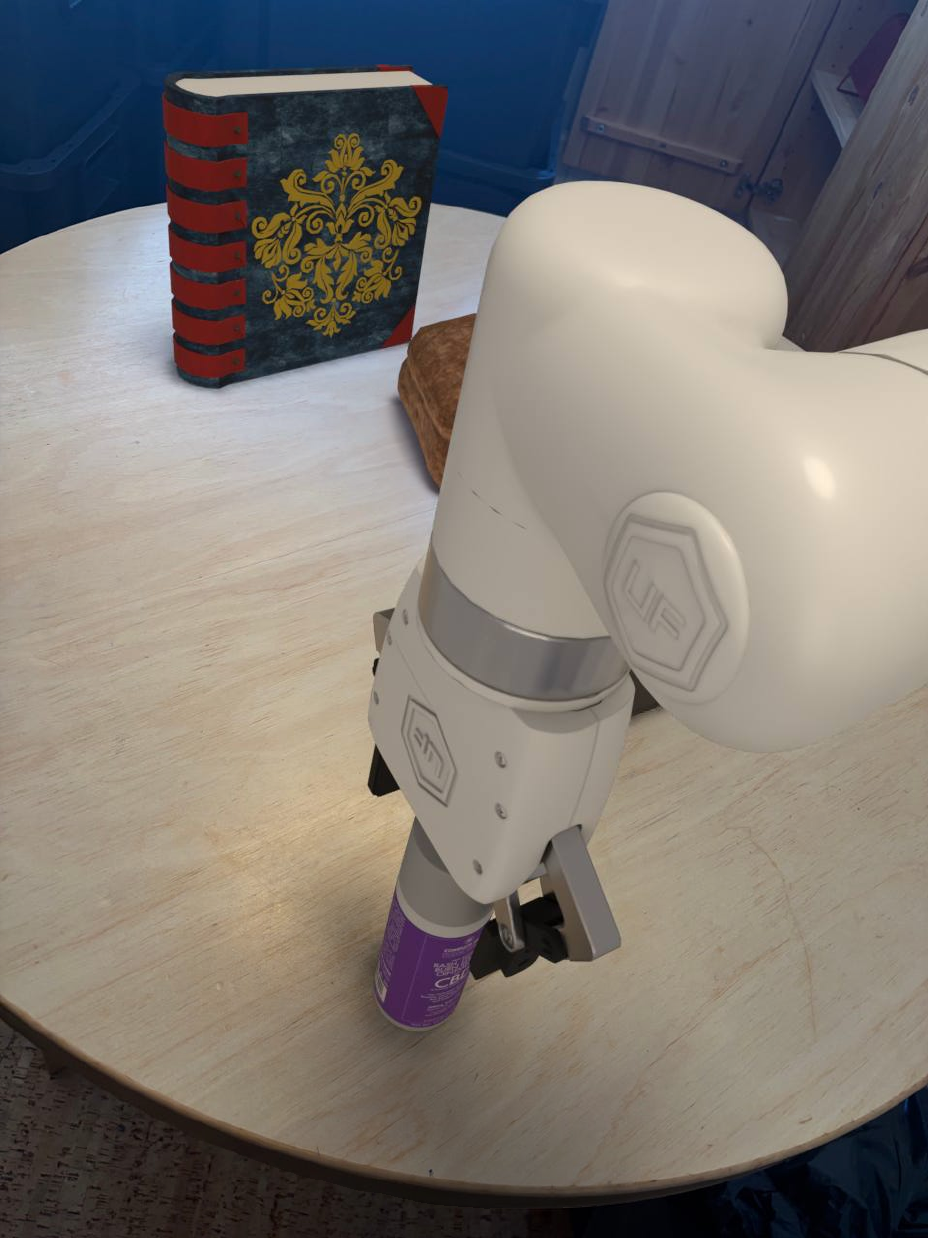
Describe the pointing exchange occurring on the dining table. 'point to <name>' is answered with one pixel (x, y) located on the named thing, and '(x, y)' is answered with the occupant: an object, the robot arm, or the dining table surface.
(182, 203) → the book
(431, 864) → the container
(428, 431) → the bread
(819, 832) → the dining table surface
